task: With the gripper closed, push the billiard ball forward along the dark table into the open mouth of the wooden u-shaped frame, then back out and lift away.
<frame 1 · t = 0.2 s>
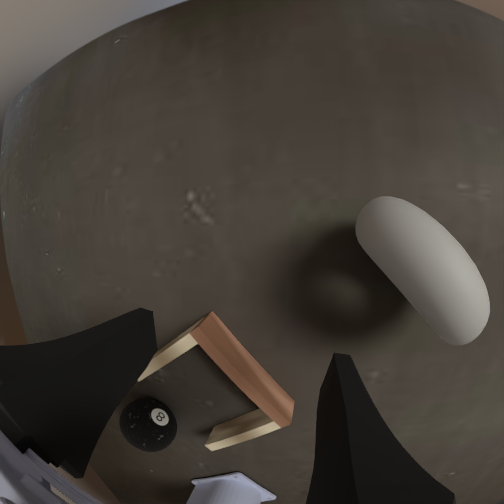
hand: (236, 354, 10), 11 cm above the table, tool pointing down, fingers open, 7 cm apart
wooden u-shaped frame: (214, 383, 23), on the table
billiard ball: (161, 408, 26), on the table
donut: (397, 253, 18), on the table
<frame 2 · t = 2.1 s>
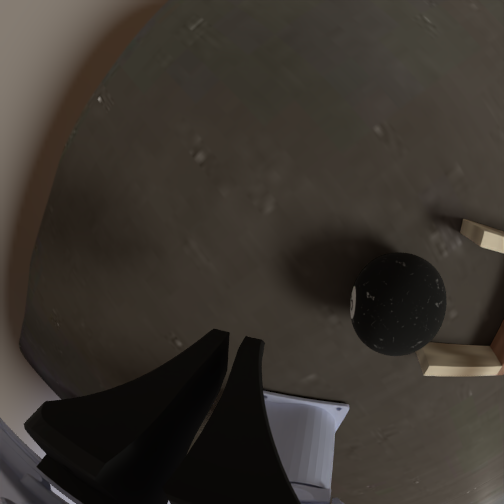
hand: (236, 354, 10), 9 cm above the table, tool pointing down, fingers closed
wooden u-shaped frame: (482, 298, 15), on the table
billiard ball: (388, 281, 17), on the table
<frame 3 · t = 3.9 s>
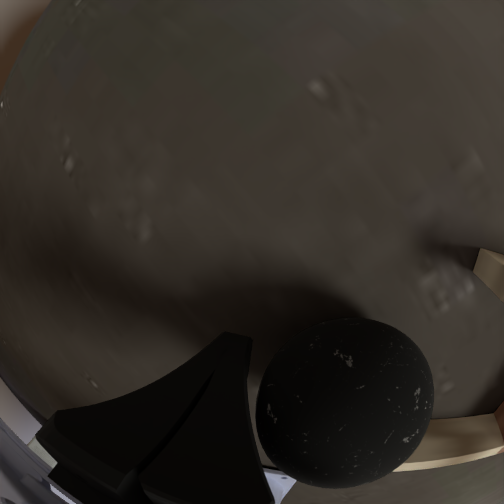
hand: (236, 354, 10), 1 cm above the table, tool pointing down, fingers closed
wooden u-shaped frame: (493, 363, 9), on the table
billiard ball: (343, 348, 11), on the table, touching gripper
small box: (59, 433, 30), on the table
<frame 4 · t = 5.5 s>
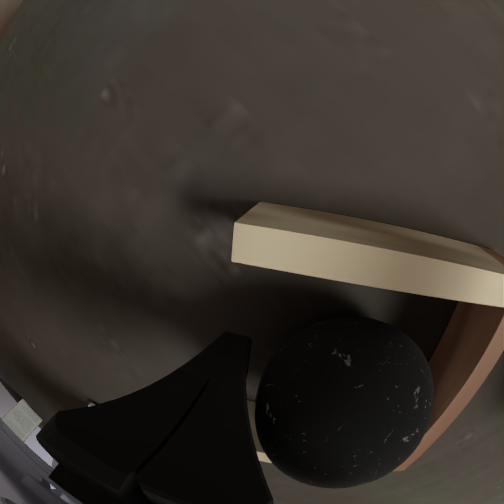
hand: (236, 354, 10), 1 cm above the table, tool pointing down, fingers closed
wooden u-shaped frame: (350, 352, 10), on the table
billiard ball: (342, 347, 11), on the table, touching gripper
small box: (32, 411, 32), on the table
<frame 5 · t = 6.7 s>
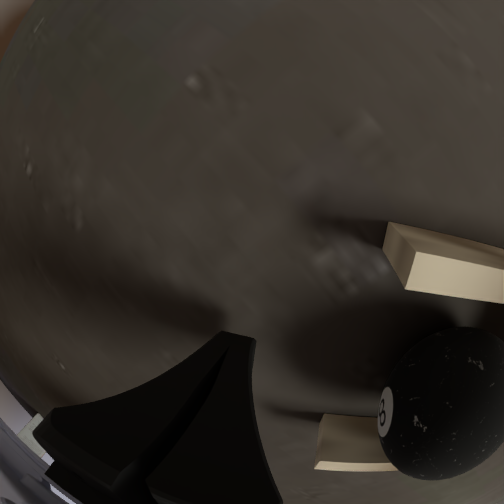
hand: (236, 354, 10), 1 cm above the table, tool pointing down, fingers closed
wooden u-shaped frame: (439, 358, 10), on the table
billiard ball: (432, 354, 10), on the table
small box: (47, 424, 31), on the table
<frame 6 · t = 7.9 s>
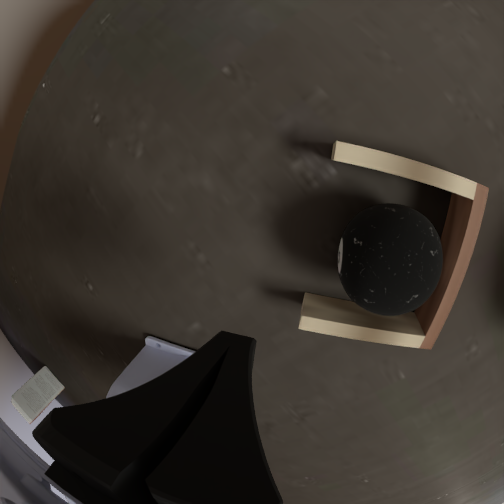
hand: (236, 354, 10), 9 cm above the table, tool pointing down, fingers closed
wooden u-shaped frame: (384, 244, 16), on the table
billiard ball: (379, 241, 17), on the table
small box: (52, 379, 38), on the table
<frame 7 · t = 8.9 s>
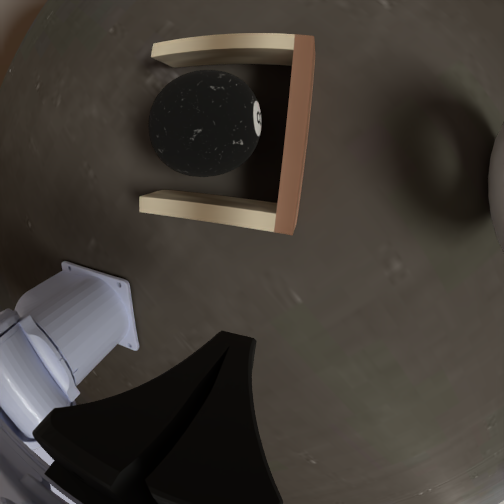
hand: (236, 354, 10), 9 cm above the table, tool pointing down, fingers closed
wooden u-shaped frame: (228, 127, 16), on the table
billiard ball: (224, 127, 16), on the table
donut: (495, 178, 13), on the table
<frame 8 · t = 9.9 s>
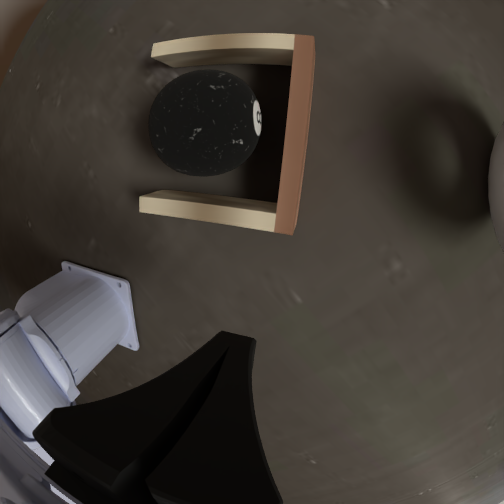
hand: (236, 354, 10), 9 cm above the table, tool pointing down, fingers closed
wooden u-shaped frame: (228, 127, 16), on the table
billiard ball: (224, 127, 16), on the table
donut: (495, 178, 13), on the table
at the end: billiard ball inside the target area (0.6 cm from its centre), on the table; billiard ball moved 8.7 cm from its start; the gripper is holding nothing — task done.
